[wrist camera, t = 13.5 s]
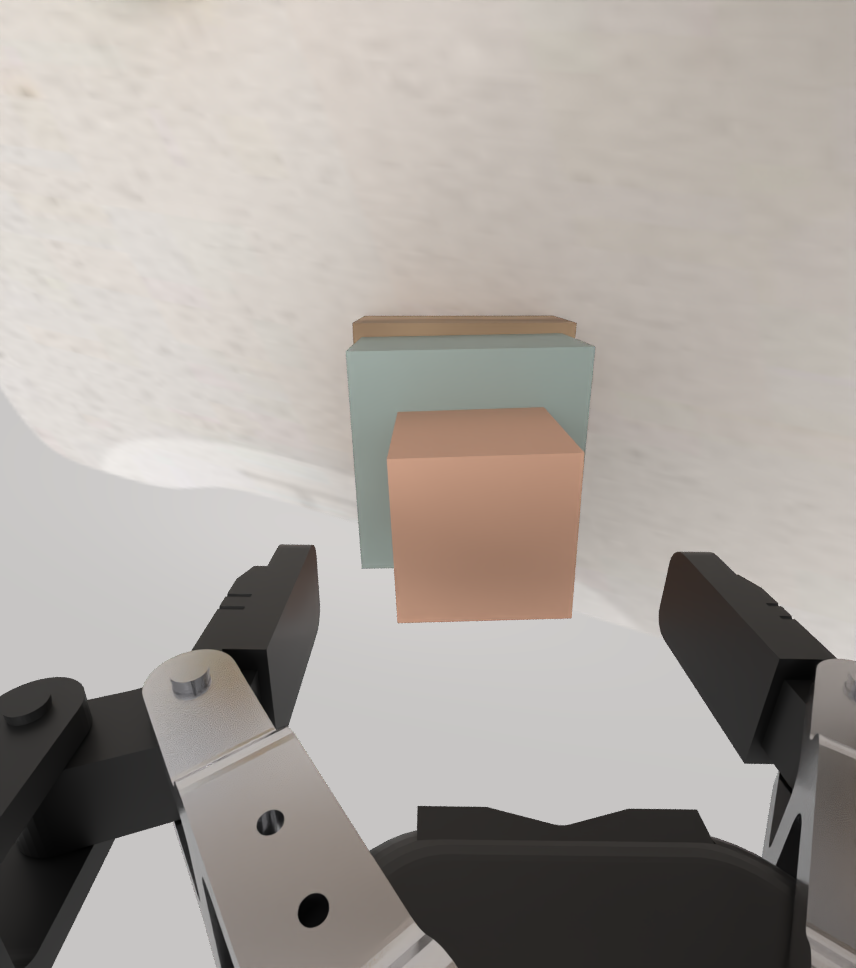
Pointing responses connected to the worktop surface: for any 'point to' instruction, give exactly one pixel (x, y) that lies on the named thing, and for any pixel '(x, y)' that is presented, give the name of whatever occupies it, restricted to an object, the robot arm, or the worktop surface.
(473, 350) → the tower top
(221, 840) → the robot arm
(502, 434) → the terracotta cube
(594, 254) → the worktop surface
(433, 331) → the tower base
